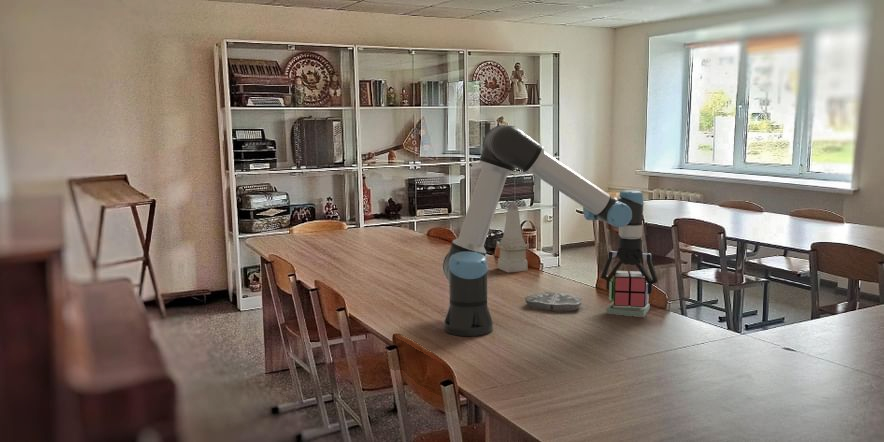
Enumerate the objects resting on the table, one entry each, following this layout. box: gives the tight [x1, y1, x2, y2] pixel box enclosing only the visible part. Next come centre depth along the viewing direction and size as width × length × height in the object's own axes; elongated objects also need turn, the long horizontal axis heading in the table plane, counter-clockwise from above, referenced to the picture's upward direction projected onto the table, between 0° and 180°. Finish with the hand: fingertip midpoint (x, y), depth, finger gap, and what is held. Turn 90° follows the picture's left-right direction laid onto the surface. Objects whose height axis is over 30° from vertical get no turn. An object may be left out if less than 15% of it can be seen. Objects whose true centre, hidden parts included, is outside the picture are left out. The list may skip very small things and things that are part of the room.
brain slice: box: [524, 291, 583, 312], centre depth 242 cm, size 20×17×3 cm
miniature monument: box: [496, 201, 530, 273], centre depth 301 cm, size 10×10×30 cm
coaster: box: [606, 301, 651, 319], centre depth 234 cm, size 12×12×2 cm
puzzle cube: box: [612, 270, 647, 307], centre depth 233 cm, size 10×10×10 cm
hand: (628, 301), depth 234 cm, fingers closed on puzzle cube, 11 cm apart
